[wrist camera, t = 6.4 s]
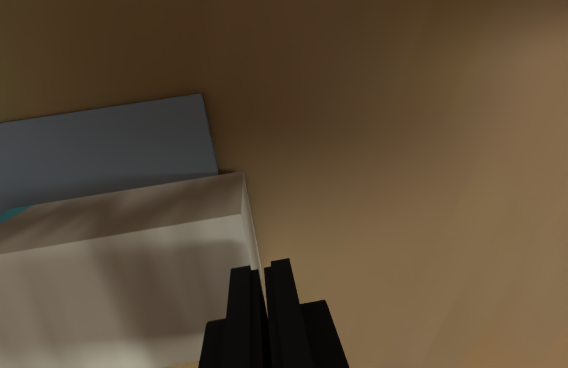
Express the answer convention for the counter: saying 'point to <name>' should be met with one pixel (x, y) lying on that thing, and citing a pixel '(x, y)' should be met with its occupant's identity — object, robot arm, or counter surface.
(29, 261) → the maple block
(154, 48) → the counter surface
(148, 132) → the rubber mat
